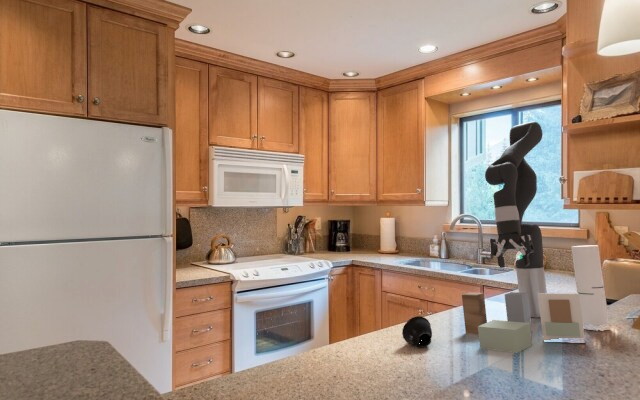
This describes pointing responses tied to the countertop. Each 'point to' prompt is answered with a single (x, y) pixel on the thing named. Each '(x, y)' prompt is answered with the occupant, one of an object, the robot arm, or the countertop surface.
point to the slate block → (518, 308)
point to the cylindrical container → (590, 284)
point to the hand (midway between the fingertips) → (514, 267)
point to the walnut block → (474, 311)
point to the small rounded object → (417, 331)
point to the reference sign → (560, 315)
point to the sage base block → (505, 336)
